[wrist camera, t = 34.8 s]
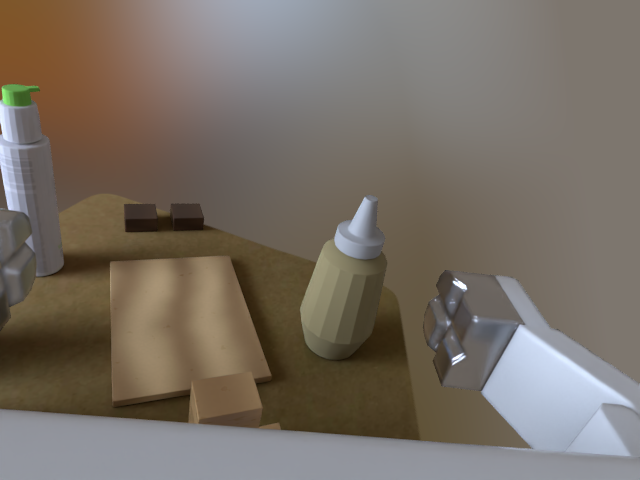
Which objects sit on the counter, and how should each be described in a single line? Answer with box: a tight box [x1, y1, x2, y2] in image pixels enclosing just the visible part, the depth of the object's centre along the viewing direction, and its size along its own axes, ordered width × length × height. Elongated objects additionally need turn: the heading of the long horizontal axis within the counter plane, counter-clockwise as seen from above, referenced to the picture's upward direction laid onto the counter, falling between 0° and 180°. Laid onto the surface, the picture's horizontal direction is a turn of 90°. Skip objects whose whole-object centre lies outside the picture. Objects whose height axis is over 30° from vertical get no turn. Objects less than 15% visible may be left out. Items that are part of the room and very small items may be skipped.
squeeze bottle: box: [300, 195, 387, 360], centre depth 46 cm, size 8×8×18 cm
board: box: [110, 256, 271, 407], centre depth 49 cm, size 14×20×1 cm
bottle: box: [0, 84, 64, 277], centre depth 47 cm, size 4×4×20 cm
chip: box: [124, 204, 158, 232], centre depth 62 cm, size 4×4×2 cm
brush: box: [188, 372, 281, 430], centre depth 32 cm, size 11×5×11 cm, turn 111°
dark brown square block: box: [170, 204, 204, 231], centre depth 65 cm, size 4×4×2 cm
